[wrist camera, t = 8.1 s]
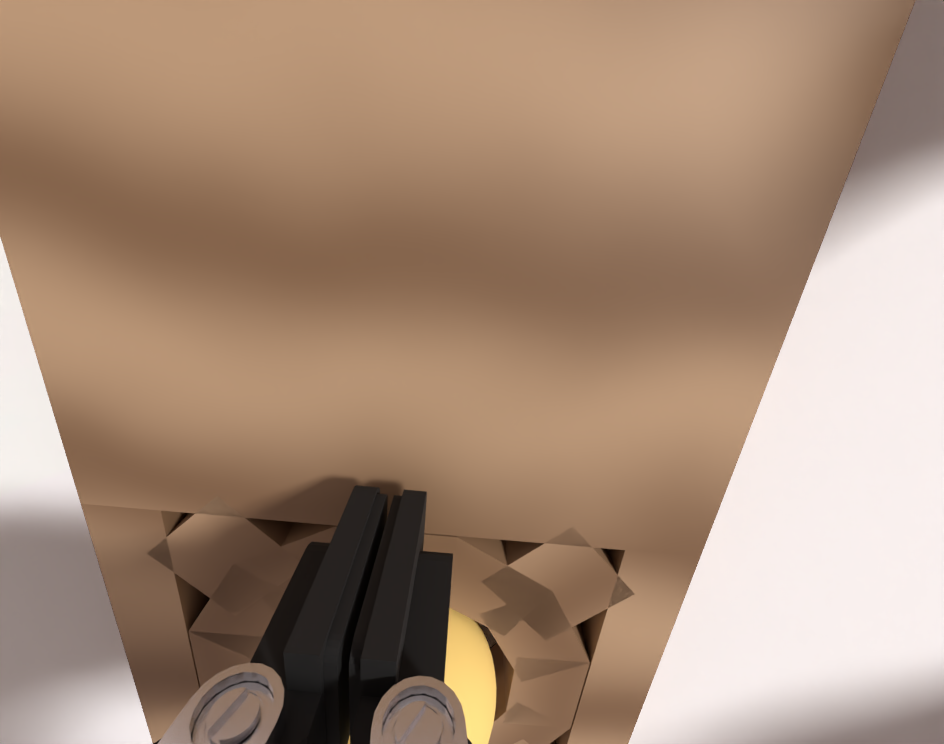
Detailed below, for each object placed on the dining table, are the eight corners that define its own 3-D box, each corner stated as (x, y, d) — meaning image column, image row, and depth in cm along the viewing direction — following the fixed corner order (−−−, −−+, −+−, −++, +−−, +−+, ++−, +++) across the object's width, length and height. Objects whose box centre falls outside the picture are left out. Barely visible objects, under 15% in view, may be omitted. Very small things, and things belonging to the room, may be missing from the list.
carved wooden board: (-5, -274, 8) (-215, -477, 5) (874, -162, 8) (1034, -306, 6) (212, 743, 19) (175, 819, 17) (574, 769, 19) (587, 847, 17)
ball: (310, 630, 16) (347, 514, 14) (460, 667, 17) (519, 563, 15) (225, 857, 11) (261, 730, 9) (451, 898, 12) (542, 791, 9)
